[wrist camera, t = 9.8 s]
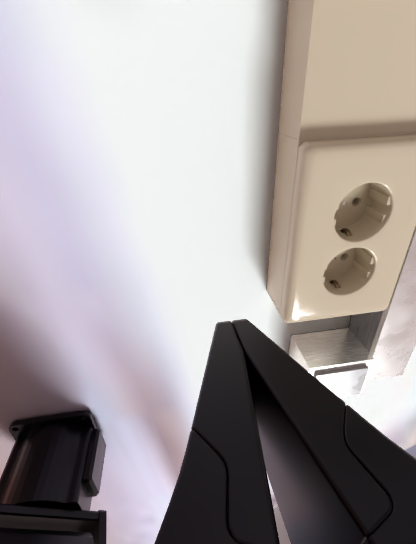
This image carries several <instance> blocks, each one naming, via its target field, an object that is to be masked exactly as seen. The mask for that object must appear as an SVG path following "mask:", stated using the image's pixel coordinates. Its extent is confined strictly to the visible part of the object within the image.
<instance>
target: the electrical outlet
mask: <svg viewBox="0 0 416 544" xmlns="http://www.w3.org/2000/svg"><path fill="white" fill-rule="evenodd" d="M415 226H416V0H288V12H287V26H286V39H285V52H284V66H283V79H282V93H281V106H280V119H279V133H278V146H277V160H276V173H275V186H274V200H273V213H272V227H271V240H270V253H269V267H268V280H267V292H268V294H269V296H270V298H271V300H272V301H273V303H274V305H275V307H276V309H277V310H278V312H279V314H280V316H281V317H282V319H283V321H285V322H286V323H296V322H303V321H311V320H318V319H326V318H333V317H341V316H348V315H356V314H363V313H371V312H378V311H384V310H386V309H387V308H388V306H389V303H390V300H391V297H392V294H393V291H394V288H395V285H396V282H397V279H398V276H399V273H400V270H401V268H402V265H403V262H404V259H405V256H406V253H407V250H408V247H409V244H410V241H411V238H412V235H413V232H414V229H415Z"/></svg>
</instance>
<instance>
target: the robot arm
mask: <svg viewBox="0 0 416 544" xmlns="http://www.w3.org/2000/svg"><path fill="white" fill-rule="evenodd" d="M9 431H10V432H11V434H12V435H13V437H14V438H15V440H16V441H15V444H14V446H13V449H12V451H11V454H10V456H9V458H8V461H7V463H6V466H5V468H4V471H3V473H2V476H1V478H0V544H106V511H104V510H99V511H90V505H91V499H92V497H94V496H97V494H98V493H99V490H100V483H101V477H102V470H103V463H104V456H105V449H106V444H105V441H104V439H103V436H102V434H101V431H100V430H99V429H98V428H97V426H96V424H95V421H94V419H93V416H92V414H91V412H89V411H80V412H73V413H66V414H60V415H53V416H46V417H40V418H33V419H27V420H20V421H14V422H12V423H11V425H10V427H9ZM266 471H267V473H266ZM267 474H268V477H269V480H270V483H271V486H272V489H273V492H274V495H275V498H276V501H277V504H278V507H279V510H280V512H281V515H282V518H283V521H284V524H285V527H286V530H287V533H288V536H289V539H290V542H291V544H416V459H415V458H414V457H413V456H411V455H410V454H409V453H407V452H406V451H405V450H403V449H402V448H401V447H399V446H398V445H397V444H395V443H394V442H393V441H391V440H390V439H389V438H387V437H386V436H385V435H384V434H382V433H381V432H380V431H379V430H377V429H376V428H375V427H374V426H373V425H371V424H370V423H369V422H368V421H366V420H365V419H364V418H363V417H361V416H360V415H359V414H358V413H357V412H356V411H354V410H353V409H352V408H351V407H350V406H348V405H346V406H345V402H344V401H342V400H341V399H340V398H339V397H338V396H337V395H335V394H334V393H333V392H332V391H331V390H329V389H328V388H327V387H326V386H325V385H324V384H322V383H321V382H320V381H319V380H318V379H317V378H315V377H314V376H313V375H312V374H311V373H309V372H308V371H307V370H306V369H305V368H304V367H302V366H301V365H300V364H299V363H298V362H297V361H295V360H294V359H293V358H292V357H291V356H289V355H288V354H287V353H286V352H285V351H284V350H282V349H281V348H280V347H279V346H278V345H276V344H275V343H274V342H273V341H272V340H271V339H269V338H268V337H267V336H266V335H265V334H264V333H262V332H261V331H260V330H259V329H258V328H256V327H255V326H254V325H253V324H252V323H251V322H249V321H248V320H246V319H241V320H234V321H232V322H230V321H225V322H218V323H217V324H216V327H215V331H214V336H213V340H212V344H211V348H210V352H209V357H208V361H207V365H206V369H205V373H204V378H203V382H202V386H201V390H200V395H199V399H198V403H197V407H196V411H195V416H194V420H193V424H192V431H191V432H190V436H189V440H188V444H187V448H186V452H185V455H184V459H183V463H182V466H181V470H180V474H179V477H178V480H177V483H176V486H175V489H174V492H173V495H172V497H171V500H170V503H169V506H168V509H167V512H166V514H165V517H164V520H163V522H162V525H161V528H160V530H159V533H158V536H157V538H156V541H155V544H279V538H278V532H277V527H276V522H275V516H274V510H273V505H272V500H271V494H270V489H269V483H268V478H267Z"/></svg>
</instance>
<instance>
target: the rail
mask: <svg viewBox="0 0 416 544" xmlns="http://www.w3.org/2000/svg"><path fill="white" fill-rule="evenodd" d="M415 344H416V226H415V229H414V232H413V235H412V238H411V241H410V244H409V247H408V250H407V253H406V256H405V259H404V262H403V265H402V268H401V270H400V273H399V276H398V279H397V282H396V285H395V288H394V291H393V294H392V297H391V300H390V303H389V306H388V308H387V309H386V310H384V311H378V312H371V313H363V314H356V315H352V317H351V320H350V324H349V328H343V329H336V330H328V331H321V332H314V333H306V334H299V335H291V341H290V348H289V356H291V357H292V358H293V359H294V360H295V361H297V362H298V363H299V364H300V365H301V366H302V367H304V368H305V369H306V370H307V371H308V372H309V373H311V374H312V375H313V376H314V377H315V378H317V379H318V380H319V381H320V382H321V383H322V384H324V385H325V386H326V387H327V388H328V389H329V390H331V391H332V392H333V393H334V394H335V395H337V396H338V397H339V398H341V397H348V396H354V395H360V394H362V393H363V390H364V387H365V384H366V381H367V380H374V379H380V378H387V377H393V376H399V375H402V374H403V372H404V369H405V367H406V365H407V363H408V360H409V358H410V356H411V353H412V351H413V349H414V346H415Z"/></svg>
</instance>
